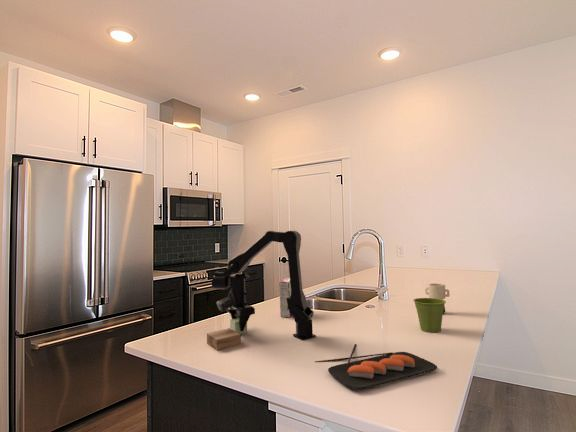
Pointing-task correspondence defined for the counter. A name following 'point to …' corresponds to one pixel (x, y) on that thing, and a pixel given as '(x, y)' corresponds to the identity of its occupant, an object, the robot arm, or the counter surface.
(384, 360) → the sushi plate
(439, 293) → the character mug
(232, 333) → the walnut block
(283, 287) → the candy bar box
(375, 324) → the counter surface
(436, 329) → the plant pot
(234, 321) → the green cube
